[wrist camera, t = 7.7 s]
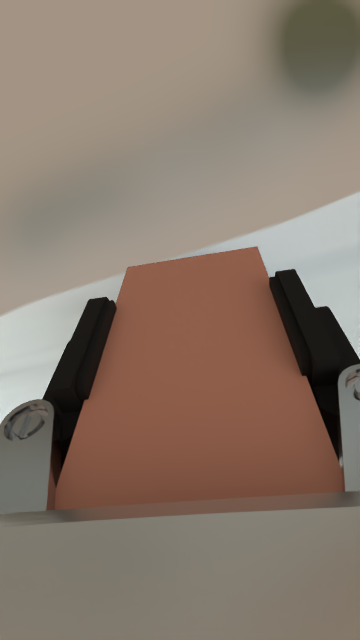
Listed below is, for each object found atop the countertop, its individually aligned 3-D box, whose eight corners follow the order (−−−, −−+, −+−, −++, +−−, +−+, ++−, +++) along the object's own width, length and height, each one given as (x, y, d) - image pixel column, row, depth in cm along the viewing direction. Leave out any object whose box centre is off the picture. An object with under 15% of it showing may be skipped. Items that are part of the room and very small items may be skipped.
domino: (257, 246, 12) (376, 562, 4) (259, 291, 14) (358, 607, 6) (127, 267, 13) (27, 574, 5) (140, 308, 14) (75, 613, 6)
